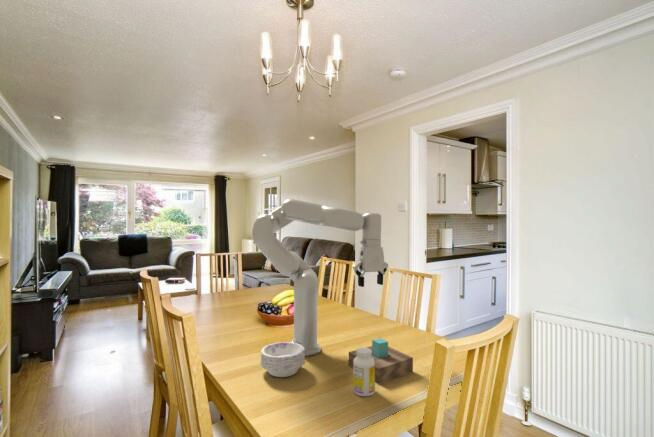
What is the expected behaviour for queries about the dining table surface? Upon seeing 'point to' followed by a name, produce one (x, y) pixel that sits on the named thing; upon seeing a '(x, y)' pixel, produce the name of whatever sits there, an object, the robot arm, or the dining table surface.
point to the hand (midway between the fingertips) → (370, 285)
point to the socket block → (388, 365)
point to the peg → (380, 348)
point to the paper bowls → (282, 358)
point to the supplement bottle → (364, 372)
